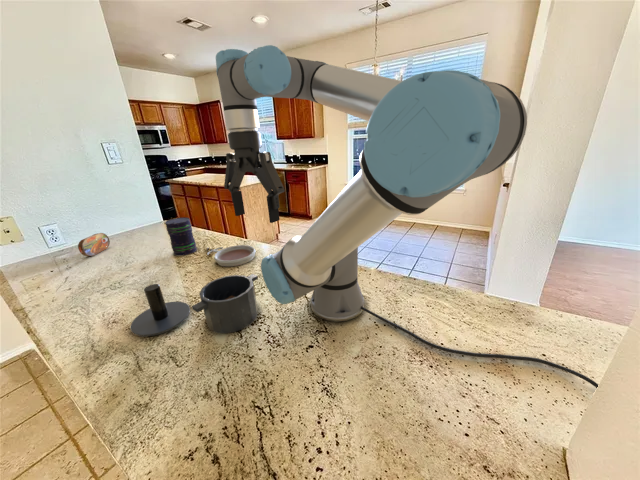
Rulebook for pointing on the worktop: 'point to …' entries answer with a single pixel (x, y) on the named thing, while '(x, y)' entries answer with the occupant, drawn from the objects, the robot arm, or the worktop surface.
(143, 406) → the worktop surface
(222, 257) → the frying pan
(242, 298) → the pot
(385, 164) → the robot arm
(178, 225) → the storage jar
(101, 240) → the tin
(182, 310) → the lid
